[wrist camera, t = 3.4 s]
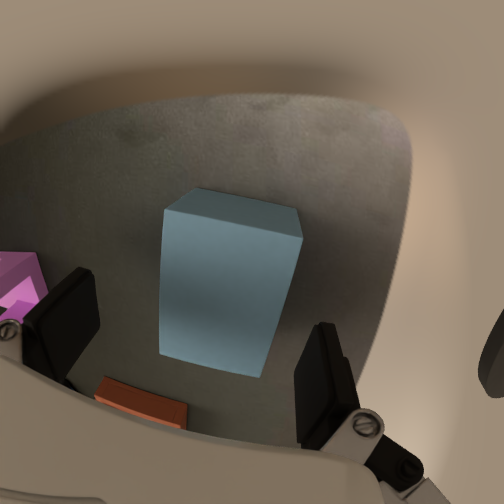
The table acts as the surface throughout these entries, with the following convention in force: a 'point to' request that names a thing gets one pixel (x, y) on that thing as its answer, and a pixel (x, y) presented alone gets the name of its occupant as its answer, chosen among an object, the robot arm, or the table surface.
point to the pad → (225, 278)
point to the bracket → (20, 284)
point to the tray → (142, 403)
